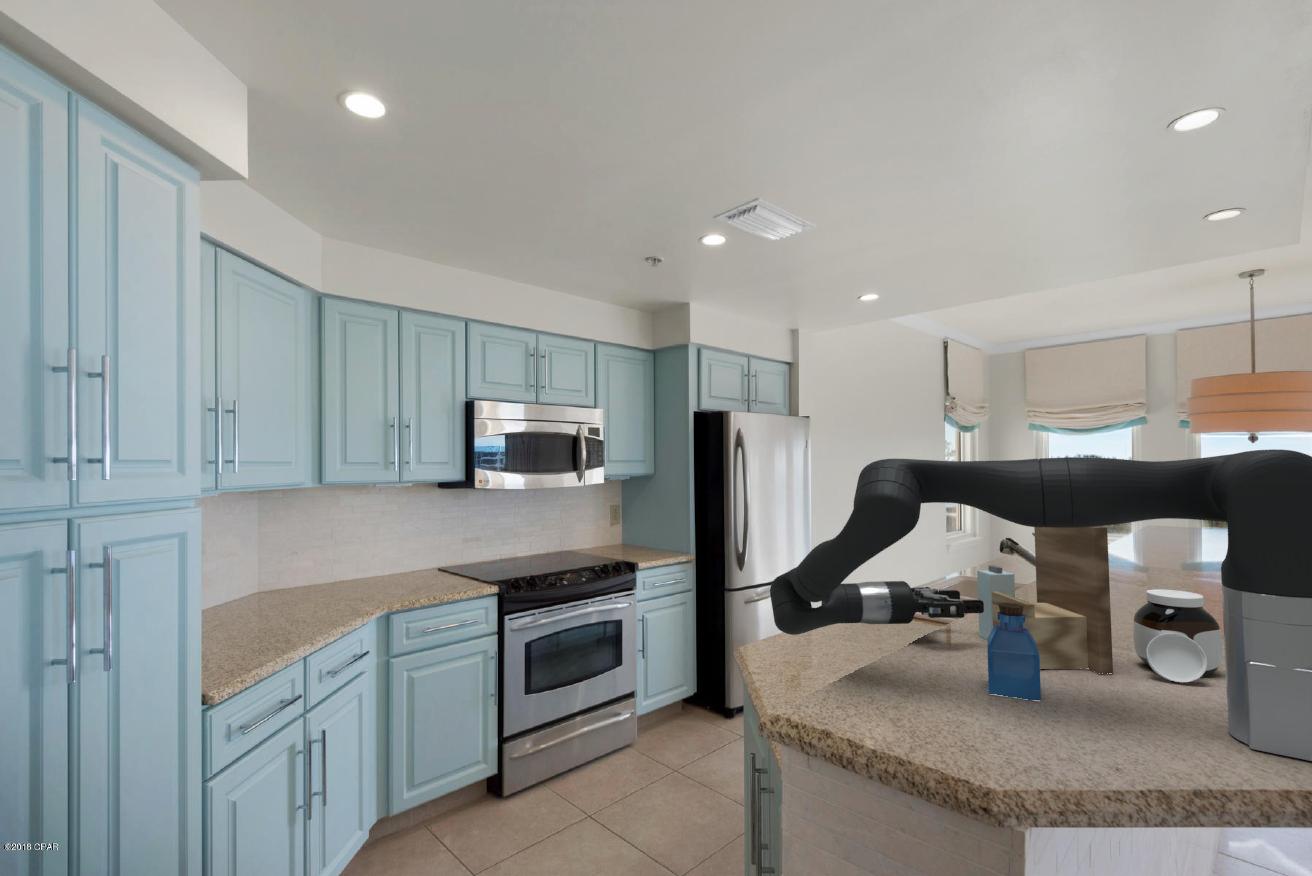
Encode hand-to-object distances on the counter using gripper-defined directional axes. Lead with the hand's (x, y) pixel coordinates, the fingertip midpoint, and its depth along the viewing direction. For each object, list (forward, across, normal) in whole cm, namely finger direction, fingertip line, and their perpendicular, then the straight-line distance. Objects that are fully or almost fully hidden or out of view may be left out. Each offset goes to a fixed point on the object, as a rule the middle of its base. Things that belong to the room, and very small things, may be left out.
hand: (970, 600), depth 114 cm
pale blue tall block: (+5, 0, +7) cm, 8 cm away
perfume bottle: (-7, -26, +7) cm, 28 cm away
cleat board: (+6, -12, +7) cm, 15 cm away
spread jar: (+21, -20, +7) cm, 30 cm away
